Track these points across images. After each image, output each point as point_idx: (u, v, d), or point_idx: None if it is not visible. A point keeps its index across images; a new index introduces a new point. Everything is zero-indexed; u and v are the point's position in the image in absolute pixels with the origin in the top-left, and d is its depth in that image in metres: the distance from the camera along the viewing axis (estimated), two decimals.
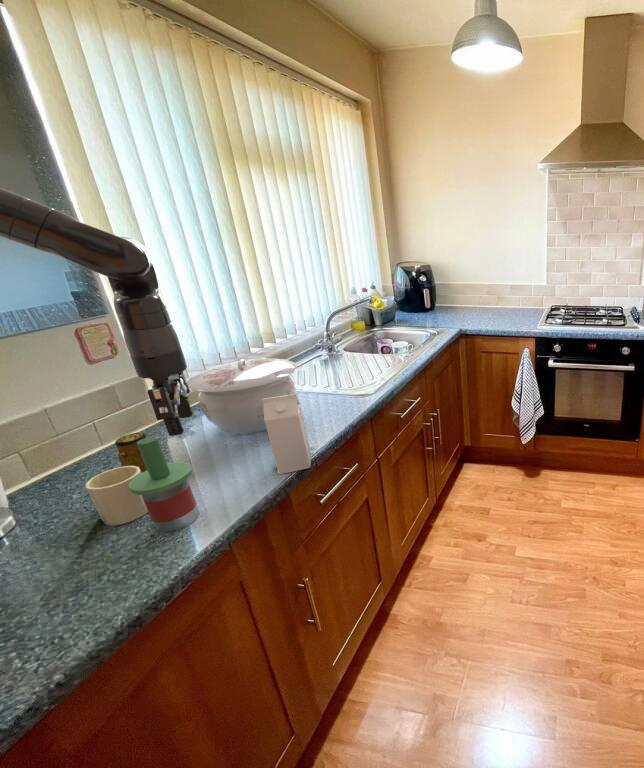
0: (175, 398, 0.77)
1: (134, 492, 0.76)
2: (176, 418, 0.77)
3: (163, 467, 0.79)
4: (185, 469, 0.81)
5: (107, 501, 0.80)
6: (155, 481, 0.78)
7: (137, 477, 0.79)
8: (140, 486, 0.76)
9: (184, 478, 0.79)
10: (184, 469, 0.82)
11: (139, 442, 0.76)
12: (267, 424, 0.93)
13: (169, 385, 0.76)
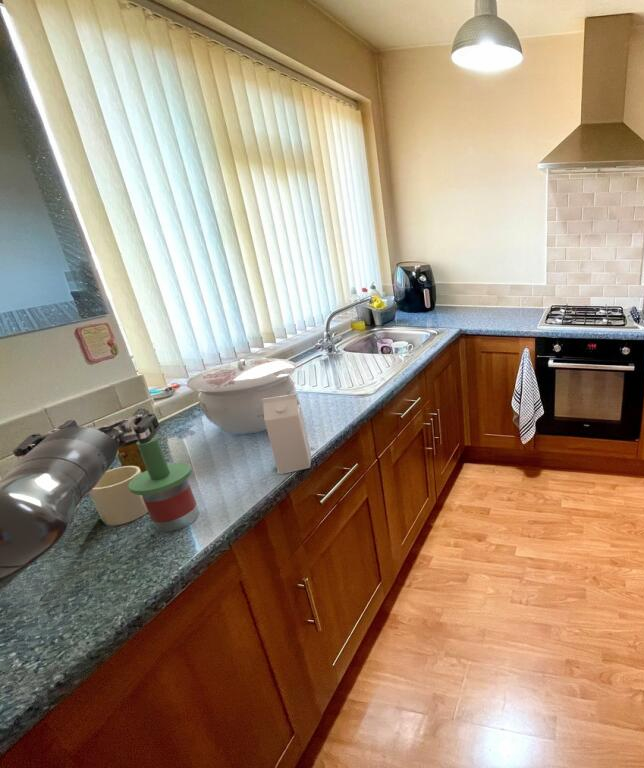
0: None
1: (134, 492, 0.76)
2: None
3: (163, 468, 0.79)
4: (185, 470, 0.81)
5: (107, 501, 0.80)
6: (155, 482, 0.78)
7: (137, 477, 0.79)
8: (140, 486, 0.76)
9: (184, 479, 0.79)
10: (184, 469, 0.81)
11: None
12: (267, 424, 0.93)
13: None
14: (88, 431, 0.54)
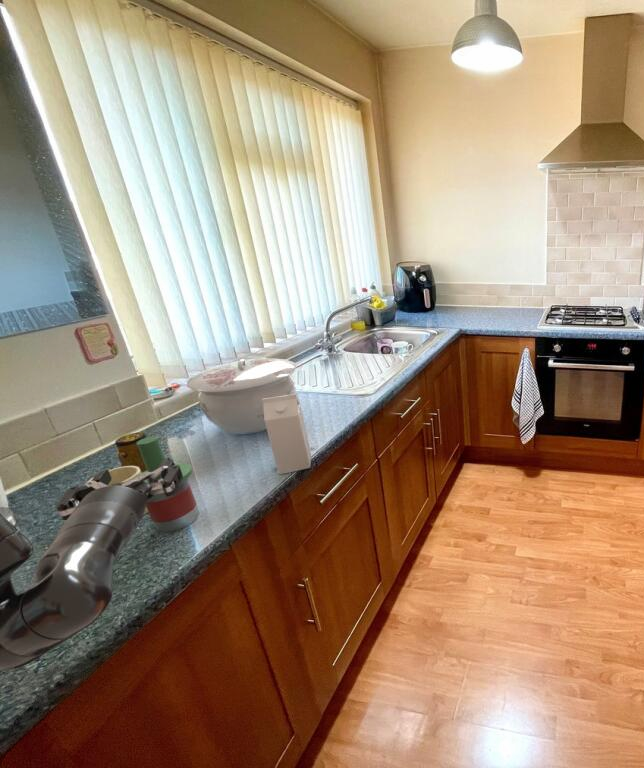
0: None
1: None
2: None
3: None
4: (185, 470, 0.81)
5: None
6: None
7: None
8: None
9: (184, 479, 0.79)
10: (184, 469, 0.81)
11: (139, 442, 0.76)
12: (267, 424, 0.93)
13: None
14: (122, 490, 0.60)
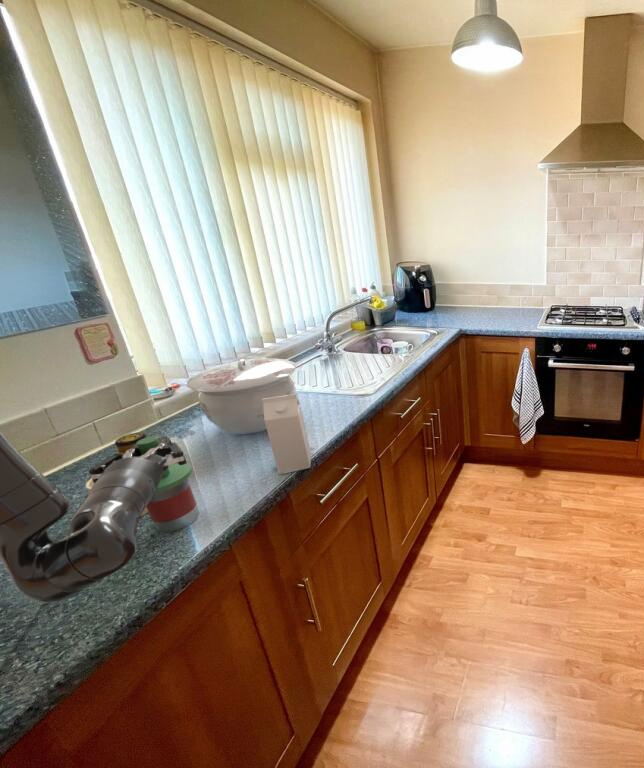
0: None
1: None
2: None
3: None
4: (185, 470, 0.81)
5: None
6: None
7: None
8: None
9: (184, 479, 0.79)
10: (184, 469, 0.81)
11: (139, 442, 0.76)
12: (267, 424, 0.93)
13: None
14: (141, 461, 0.68)
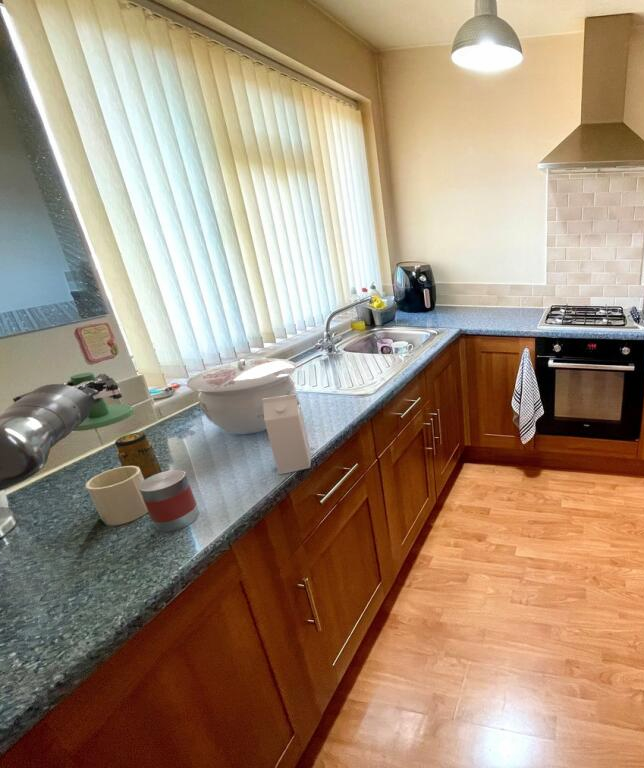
0: None
1: None
2: None
3: (101, 405, 0.76)
4: (126, 409, 0.79)
5: (107, 501, 0.80)
6: (91, 419, 0.75)
7: None
8: None
9: (122, 417, 0.76)
10: (124, 409, 0.79)
11: (73, 376, 0.73)
12: (267, 424, 0.93)
13: None
14: (67, 388, 0.65)
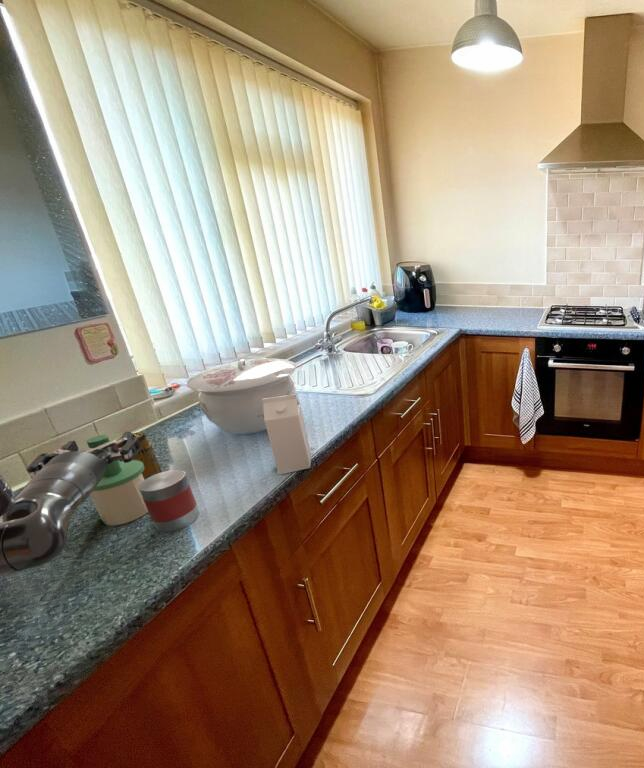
0: None
1: None
2: None
3: (114, 465, 0.81)
4: (137, 467, 0.84)
5: (107, 501, 0.80)
6: (106, 478, 0.80)
7: None
8: None
9: (134, 475, 0.82)
10: (136, 466, 0.84)
11: (89, 440, 0.79)
12: (267, 424, 0.93)
13: None
14: (83, 455, 0.70)
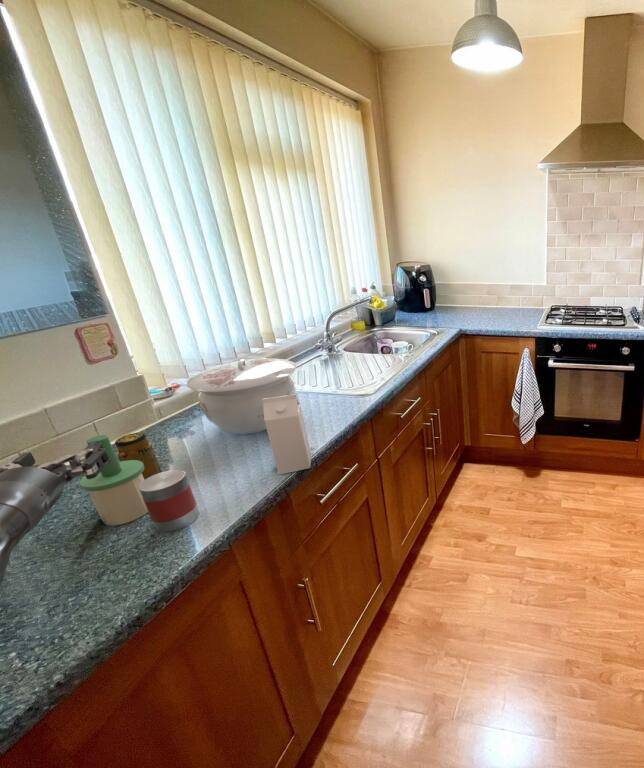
0: None
1: (84, 488, 0.78)
2: None
3: (114, 465, 0.81)
4: (137, 467, 0.84)
5: (107, 501, 0.80)
6: (106, 478, 0.80)
7: None
8: (90, 483, 0.79)
9: (134, 475, 0.82)
10: (136, 466, 0.84)
11: (89, 440, 0.79)
12: (267, 424, 0.93)
13: None
14: (34, 471, 0.58)
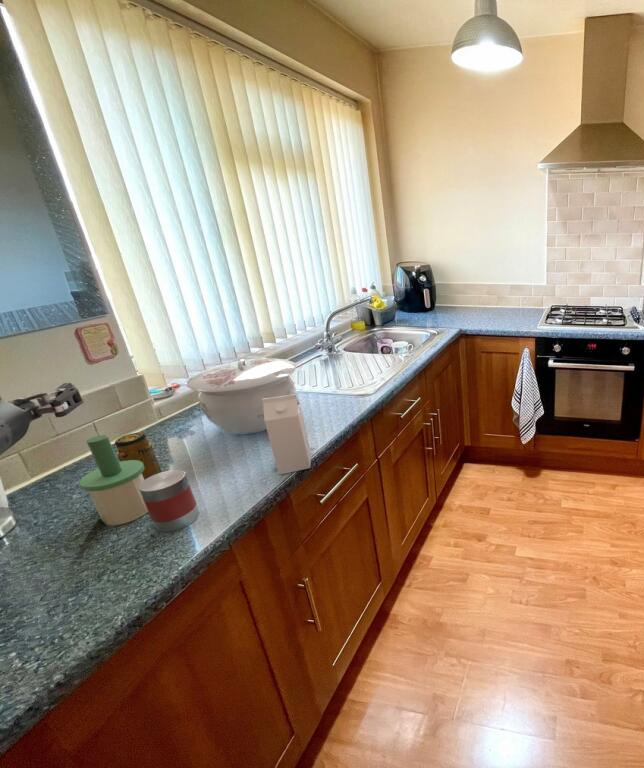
0: None
1: (84, 488, 0.78)
2: None
3: (114, 465, 0.81)
4: (137, 467, 0.84)
5: (107, 501, 0.80)
6: (106, 478, 0.80)
7: (89, 474, 0.82)
8: (90, 483, 0.79)
9: (134, 475, 0.82)
10: (136, 466, 0.84)
11: (89, 440, 0.79)
12: (267, 424, 0.93)
13: None
14: None
